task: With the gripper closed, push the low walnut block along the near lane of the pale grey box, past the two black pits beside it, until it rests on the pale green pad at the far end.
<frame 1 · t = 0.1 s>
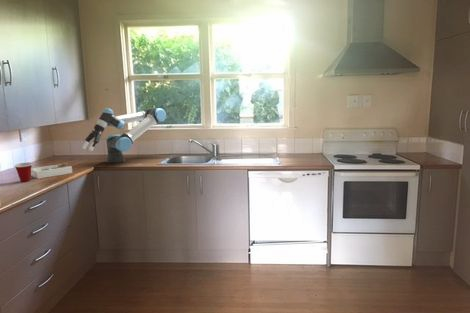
hand: (86, 149, 279), 15 cm above the table, tool tilted 35°, fingers open, 13 cm apart
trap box: (51, 174, 266), on the table
walnut block: (63, 168, 269), point 3 cm above the table, touching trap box
plastic cup: (25, 181, 245), on the table
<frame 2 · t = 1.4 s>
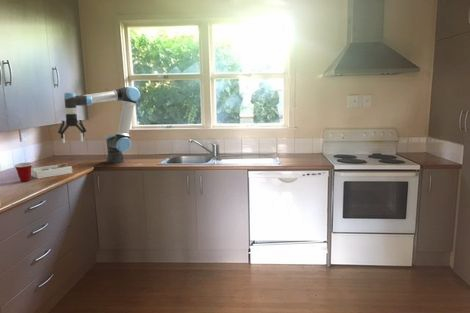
hand: (73, 142, 272), 22 cm above the table, tool pointing down, fingers open, 13 cm apart
nothing on the table moved.
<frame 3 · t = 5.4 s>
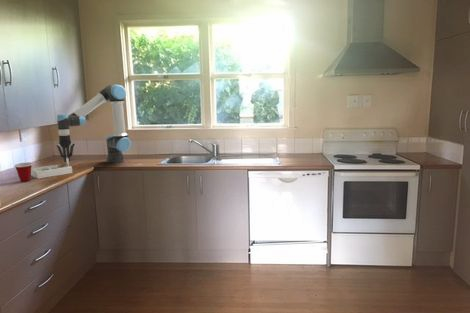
hand: (67, 166, 271), 5 cm above the table, tool pointing down, fingers closed
walnut block: (63, 169, 269), point 3 cm above the table, touching gripper, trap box
everything else where it was.
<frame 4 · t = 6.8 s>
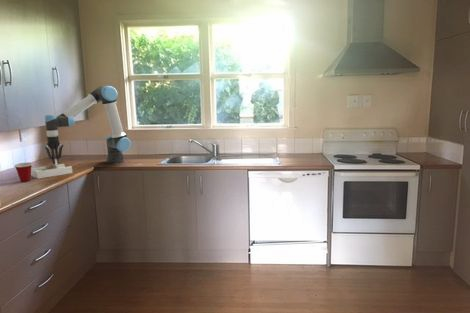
hand: (56, 167, 265), 5 cm above the table, tool pointing down, fingers closed
walnut block: (51, 170, 263), point 3 cm above the table, touching gripper, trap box
everything else where it was.
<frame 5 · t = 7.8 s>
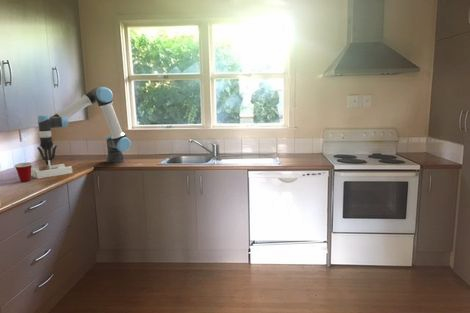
hand: (49, 168, 262), 5 cm above the table, tool pointing down, fingers closed
walnut block: (44, 171, 260), point 3 cm above the table, touching gripper, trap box
everything else where it was.
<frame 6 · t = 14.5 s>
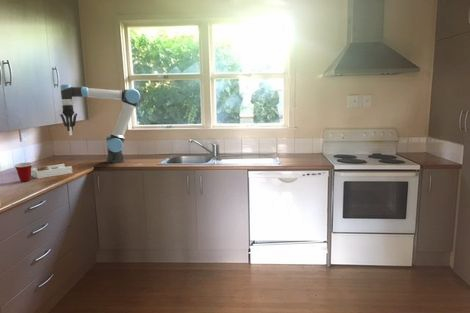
hand: (70, 135, 282), 26 cm above the table, tool pointing down, fingers closed
walnut block: (42, 172, 259), point 3 cm above the table, touching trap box
everything else where it was.
at the end: walnut block 1.3 cm from the target spot on the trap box, point 3.0 cm above the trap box's base; walnut block tilted 0°; the gripper is holding nothing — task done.
